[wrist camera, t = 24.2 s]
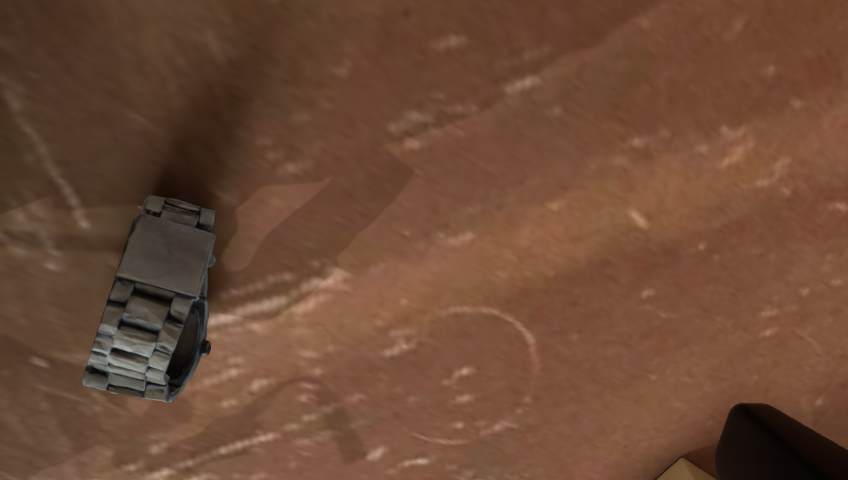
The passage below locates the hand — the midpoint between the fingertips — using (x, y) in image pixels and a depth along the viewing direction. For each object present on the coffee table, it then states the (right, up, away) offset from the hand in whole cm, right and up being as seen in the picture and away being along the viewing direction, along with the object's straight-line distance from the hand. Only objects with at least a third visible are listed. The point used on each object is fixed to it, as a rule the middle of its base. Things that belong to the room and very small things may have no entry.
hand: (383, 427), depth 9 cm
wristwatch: (-7, +1, +12) cm, 14 cm away
